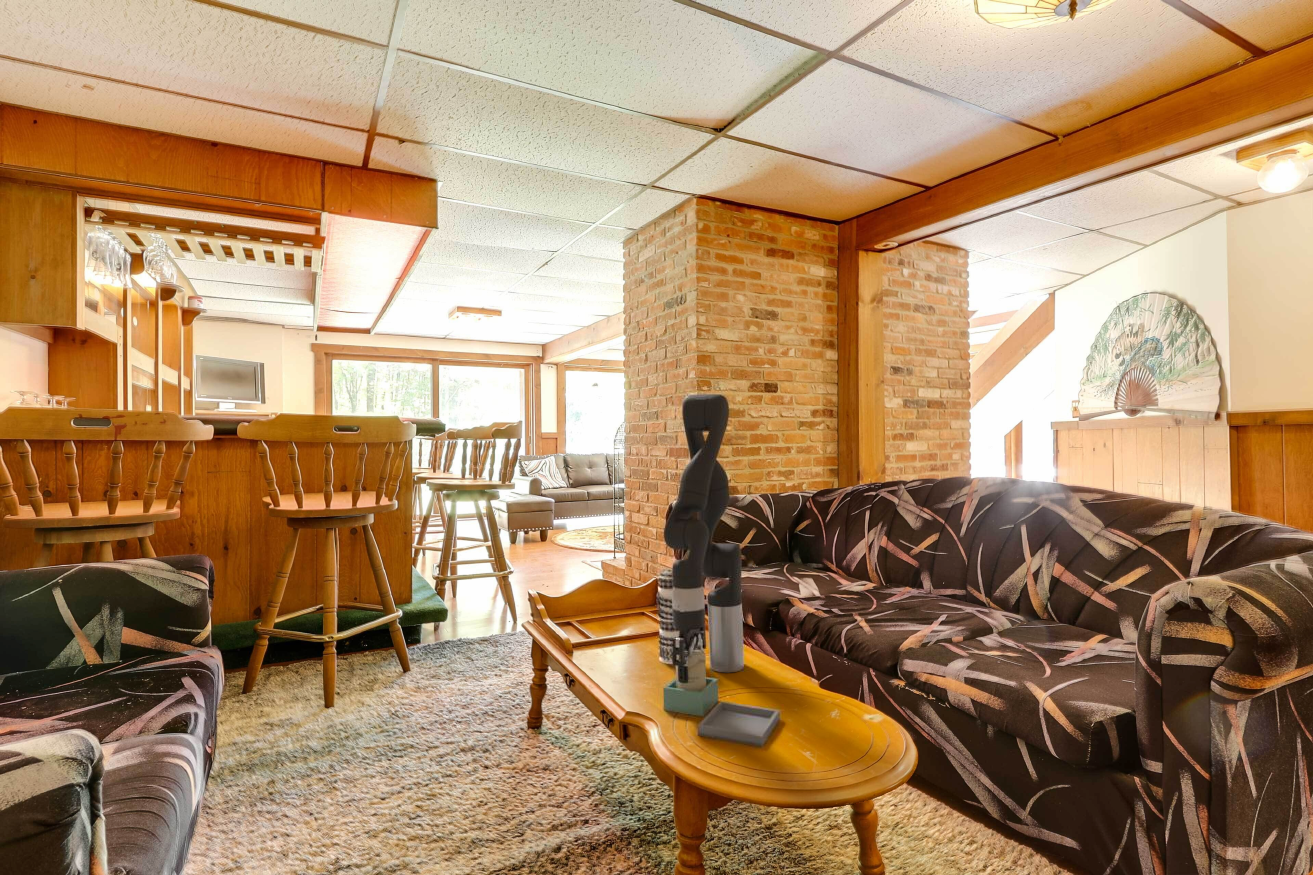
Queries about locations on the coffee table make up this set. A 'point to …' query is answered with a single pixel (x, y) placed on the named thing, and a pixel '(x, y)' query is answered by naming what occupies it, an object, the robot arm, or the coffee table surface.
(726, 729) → the tray
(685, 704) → the teal square open box
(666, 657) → the decorative candle
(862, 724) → the coffee table surface
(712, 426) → the robot arm
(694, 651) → the skincare box
